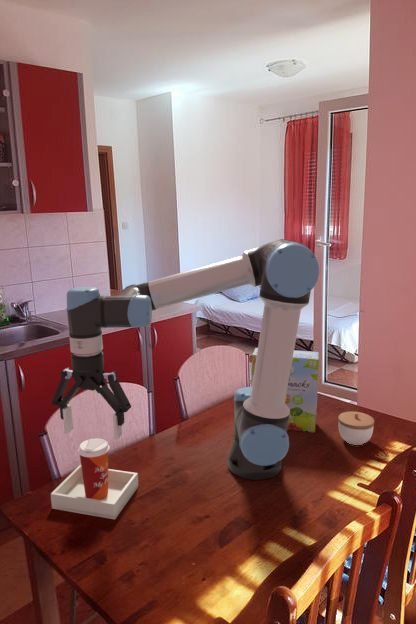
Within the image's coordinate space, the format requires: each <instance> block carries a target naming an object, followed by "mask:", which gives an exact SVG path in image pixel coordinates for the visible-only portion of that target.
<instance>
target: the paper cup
mask: <svg viewBox="0 0 416 624" xmlns="http://www.w3.org/2000/svg"><path fill="white" fill-rule="evenodd" d="M110 447H111V446H110V445H109V443H108V441H106V440H105V438H104V439H103V438H97V437H95V438H89V439H86V440H84V441H82V442H81V443H80V445H79V447H78V449H77V453H78V454H79V459H80V465H81V468H82V475H83V482H84V489H85V495H86V498H90V499H96V500H102V499H104V498H105V497H106V496H107V495H108V469H109V451H110Z"/></svg>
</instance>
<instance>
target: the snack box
mask: <svg viewBox="0 0 416 624" xmlns="http://www.w3.org/2000/svg"><path fill="white" fill-rule="evenodd" d="M257 351H258V347H254V350H253V353H252V354H251V371H250V372H251V380H250V381H251V383H250V384H251V385H250V387H252V384H253V377H254V370H255V364H256V357H257ZM319 368H320V352H319V351H311V350H310V351H308V350H295V349H294V353H293V359H292V365H291V371H290V377H289V383H288V389H287V395H286V401H285V404H286V405H287V407H288V408H289V409H290V415H289V421H288V427H287V431H297V432H305V431H308V432H307V433H316V425H317V424H316V422H317V408H318V407H317V406H318V390H319V389H318V388H319V370H320V369H319Z"/></svg>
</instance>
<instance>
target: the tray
mask: <svg viewBox="0 0 416 624" xmlns="http://www.w3.org/2000/svg"><path fill="white" fill-rule="evenodd" d="M138 488H139V473H138V472H133V471H127V470H126V471H124V470H118V469H111V468H108V495H107V496H106V497H105V498H104V499H102V500H96V499H90V498H86V495H85V489H84V482H83V475H82V468H81V464H79V465H78V466H77V467H76V468H75V469H74V470H73V471H72V472H71V473H70V474H69V475H68V476H66V478H65V479H64V480H63V481H62V482H61V483H60V484H59V485H58V486H57V487H56V488H55V489H54V490H53V491H52V492H51V493H50V501H51V509H54V510H58V511H64V512H70V513H76V514H82V515H86V516H87V515H88V516H92V517H99V518H105V519H111V520H116V519H117V517H118V516H119V515H120V513H121V512H122V510H123V509H124V508H125V506H126V505H127V503H128V502H129V500H130V499H131V498H132V496H133V495H134V494H135V492H136V491H137V489H138Z"/></svg>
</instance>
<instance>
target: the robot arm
mask: <svg viewBox="0 0 416 624" xmlns="http://www.w3.org/2000/svg"><path fill="white" fill-rule="evenodd" d="M319 276H320V265H319V260H318V259H317V257H316V254H314V253H313V251H312V250H311V249H310V248H309V247H308V246H306V245H305V244H303V243H301V242H298V241H297V242H296V241H293V240H289V239H285V238H284V239H282V238H281V239H275V240H272V241H270V242H268V243H265V244H262V245H259V246H257V247H253V248H251V249H247V250H244V251H243V253H242V255H241V256H236V257H233V258H228V259H226V260H222V261H219V262H214V263H211V264H208V265H205V266H201V267H196V268H194V269H190V270H186V271H182V272H179V273H175V274H171V275H168V276H167V275H166V276H164V277H159V278H157V279H154V280H150V281H147V282H142V283H139V284H137V283H134V284H133V283H132V284H130V285H127V286H126V287H125V288H123V289H122V290H121V293H120V294H119V295H101V293H100V290H99V288H97V287H95V286H77V287H74V288H70V289H69V290H67V292H66V307H65V309H66V313H67V323H68V324H67V325H68V335H69V337H68V338H69V346H70V347H69V349H70V353H71V355H70V360H71V361H70V362H71V368H72V369H71V368H70V367H66V368H64V369H63V370H62V371H61V372H60V380H59V383H58V386H57V388H56V391H55V393H54V396H53V398H52V401H51V405H53V406H57V407H59V412H60V413H59V414H60V419H61V420H63V429H64V434H69V433H70V432H71V431H72V430H74V423H73V412H72V404H70V401H72V399H73V398H74V396H75V395H76V394H77V393H78V391H79V390H80V389H81V390H83V391H86V390H87V391H93V392H94V391H96V393H98V394H100V395H101V397H102V398H103V399H104V400H105V401H106V403H107V404H108V405H109V406H110V408H112V410H113V411H114V413H112V419H113V421H112V422H113V436H114V440H118V439H120V437H121V436H123V428H122V427H123V425H124V424H125V413H127V412H128V411H129V410H130V409H131V408H132V404H131V403H130V400H129V399H128V397H127V395H126V392H125V390H123V388H122V385H121V383H120V382H119V380H118V373H117V371H112V372H105V370H104V366H105V360H104V352H103V351H102V350H103V349H104V344H103V333H102V332H103V331H102V330H103V329H107V328H108V329H109V328H111V329H112V328H115V329H116V328H135V329H138V328H142V327H149V326H151V324H152V321H153V320H152V319H153V318H152V317H153V311H156V310H159V309H163V308H167V307H170V306H174V305H178V304H181V303H184V302H188V301H189V302H190V301H191V300H195V299H199V298H202V297H203V298H204V297H206V296H210V295H214V294H217V293H221V292H222V293H223V292H226V291H230V290H233V289H237V288H241V287H243V286H248V285H250V286H252V287H259V286H260V288H259V289H260V290H259V295H258V296H259V298H260V299H261V301H262V303H264V306H263V314H262V317H261V318H262V319H261V325H260V326H261V327H260V330H259V331H260V332H259V338H258V345H257V348H258V351H257V357H256V364H255V370H254V377H253V384H252V387H251V386H244V387H240V388H238V389H237V390H235V391H234V397H233V402H234V406H233V408H234V411H233V412H234V415H233V417H234V421H233V426H234V427H233V428H234V429H233V432H234V433H233V434H234V435H233V438H234V439H233V442H232V444H231V448H230V451H229V454H228V458H227V467H228V469H229V470H230V472H231V473H232V474H234V475H235V476H237V477H239V478H242V479H245V480H253V481H257V480H259V481H260V480H267V479H271V478H274V477H275V476H276V475H278V474H279V473H280V471H281V470H282V460H283V459H284V458H285V457H286V456H287V453H288V452H289V448H290V441H289V440H290V437H289V435H288V433H287V432H288V430H287V427H288V421H289V415H290V409H289V408H288V407H287V405H286V404H285V401H286V395H287V389H288V383H289V377H290V371H291V365H292V359H293V353H294V350H295V346H296V343H297V342H296V340H297V334H298V330H299V329H298V328H299V322H300V316H301V312H302V310H303V309H304V307H306V306H308V305H309V304H310V298H311V292H312V290H313V289H314V288H315V286H316V285H317V283H318V280H319ZM71 378H72V379H73V380H74V381H75V382H74V383H73V385H72V386H71V388H70V389H69V391H68V392H67V393H66V394H65V392H66V390H67V387H68V384H69V382H70V380H71ZM105 380H106V381H105ZM107 383H108V384H107ZM64 395H65V396H64Z"/></svg>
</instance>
